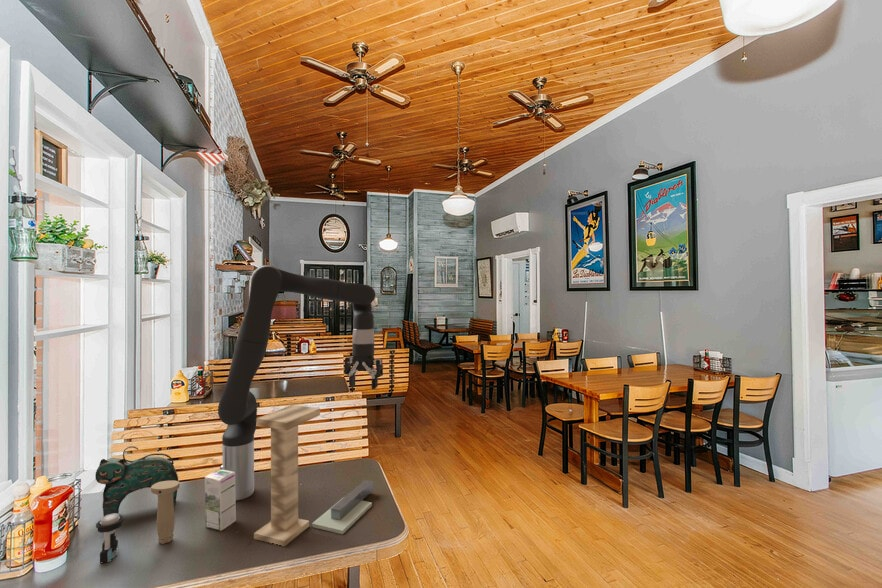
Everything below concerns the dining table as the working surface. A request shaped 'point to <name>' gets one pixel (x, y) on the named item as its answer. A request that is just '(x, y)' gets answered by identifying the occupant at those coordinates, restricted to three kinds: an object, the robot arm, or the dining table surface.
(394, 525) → the dining table surface
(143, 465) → the ceramic cat
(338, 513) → the long grey plank
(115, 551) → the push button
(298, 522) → the stand
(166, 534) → the handle
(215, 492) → the syrup box
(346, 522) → the mat
